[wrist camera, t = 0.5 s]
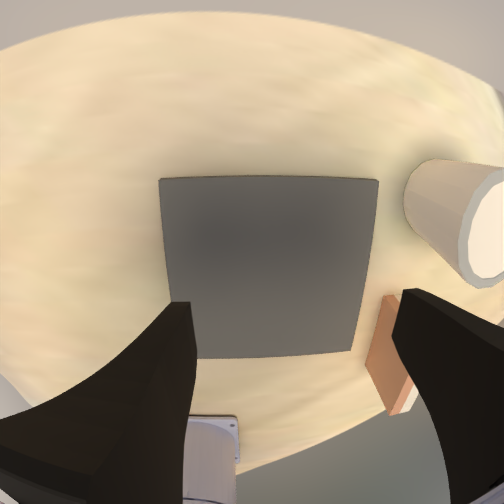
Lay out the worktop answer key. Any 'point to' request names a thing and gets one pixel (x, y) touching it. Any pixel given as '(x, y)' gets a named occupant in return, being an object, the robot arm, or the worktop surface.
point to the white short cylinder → (460, 216)
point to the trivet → (269, 260)
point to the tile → (389, 362)
